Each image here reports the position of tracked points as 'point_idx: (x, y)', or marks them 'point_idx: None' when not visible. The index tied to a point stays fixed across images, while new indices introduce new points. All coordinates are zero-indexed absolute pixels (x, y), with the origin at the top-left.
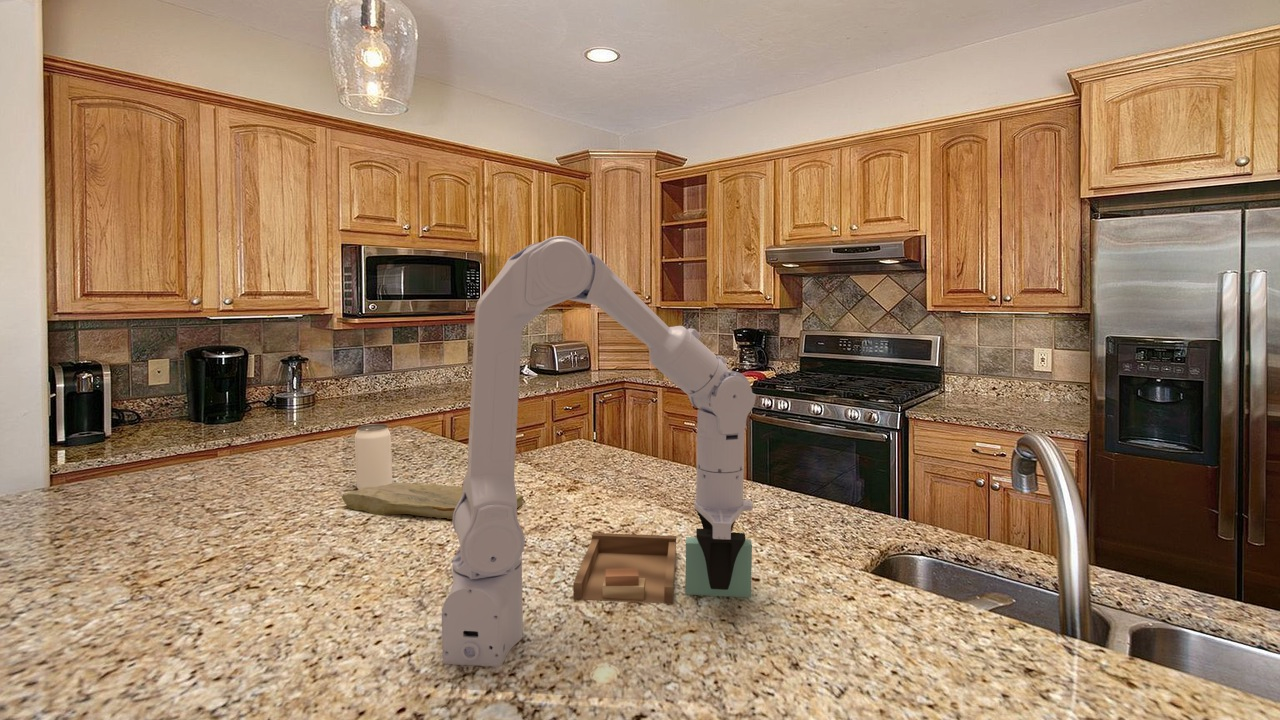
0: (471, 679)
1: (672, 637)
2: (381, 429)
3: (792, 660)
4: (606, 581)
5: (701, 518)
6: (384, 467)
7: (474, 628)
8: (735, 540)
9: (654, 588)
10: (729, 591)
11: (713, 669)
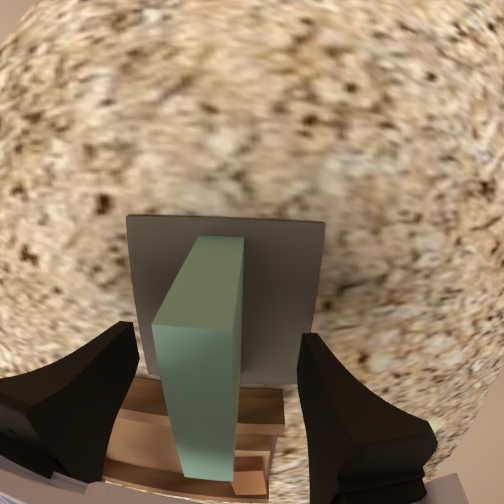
0: None
1: (377, 382)
2: None
3: (475, 189)
4: (266, 486)
5: (100, 471)
6: None
7: None
8: (430, 456)
9: None
10: (241, 301)
11: (468, 322)
